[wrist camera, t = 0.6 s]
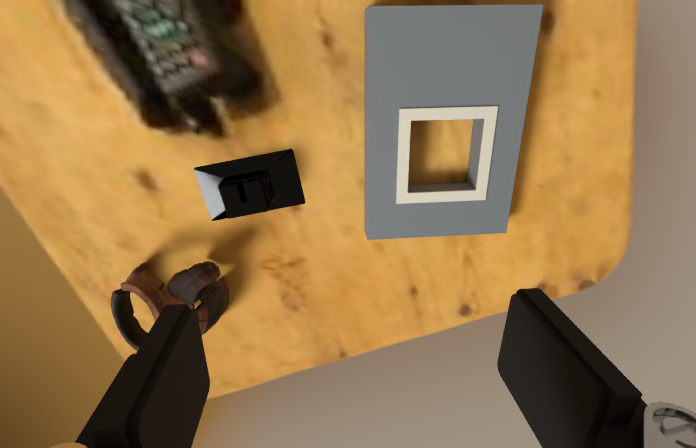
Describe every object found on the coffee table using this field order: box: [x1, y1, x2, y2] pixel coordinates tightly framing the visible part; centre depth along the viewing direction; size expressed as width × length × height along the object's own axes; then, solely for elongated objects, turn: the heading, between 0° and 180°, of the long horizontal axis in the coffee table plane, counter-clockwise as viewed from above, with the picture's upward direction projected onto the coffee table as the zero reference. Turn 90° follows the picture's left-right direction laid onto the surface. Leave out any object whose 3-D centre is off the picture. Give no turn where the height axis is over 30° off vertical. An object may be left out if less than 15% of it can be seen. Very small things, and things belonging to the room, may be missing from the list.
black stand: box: [194, 149, 305, 221], centre depth 35 cm, size 12×7×5 cm, turn 100°
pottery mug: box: [111, 261, 229, 351], centre depth 38 cm, size 12×10×8 cm
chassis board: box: [365, 4, 543, 240], centre depth 35 cm, size 20×14×3 cm
